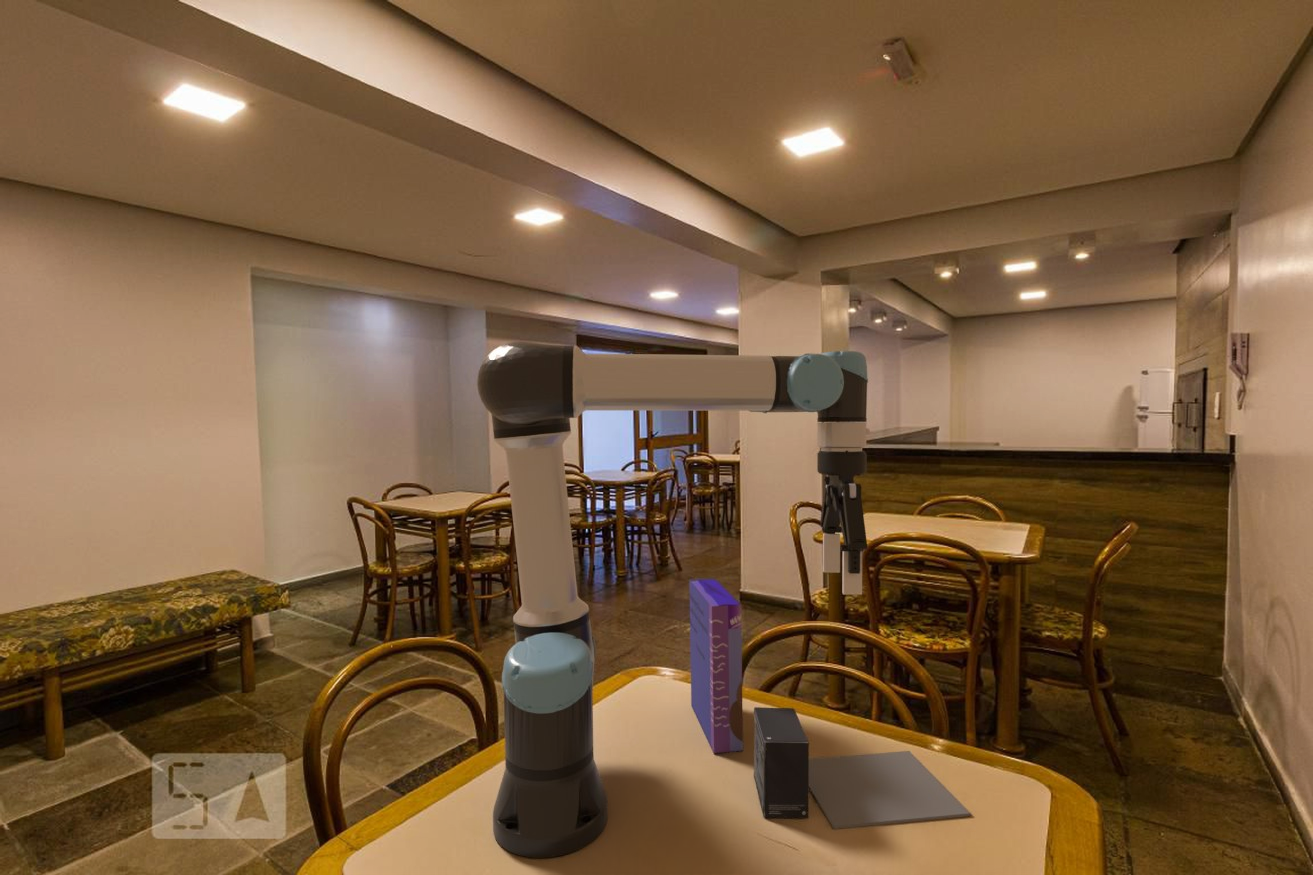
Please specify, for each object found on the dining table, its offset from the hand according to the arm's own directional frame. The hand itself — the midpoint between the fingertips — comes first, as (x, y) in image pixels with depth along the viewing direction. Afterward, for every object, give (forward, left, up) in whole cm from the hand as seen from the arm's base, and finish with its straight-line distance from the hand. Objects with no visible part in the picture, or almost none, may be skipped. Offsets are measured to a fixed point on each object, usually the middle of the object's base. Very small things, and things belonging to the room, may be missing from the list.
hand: (841, 582), depth 101 cm
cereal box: (-19, +10, -27) cm, 34 cm away
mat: (0, -11, -27) cm, 29 cm away
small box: (-14, -11, -27) cm, 32 cm away
